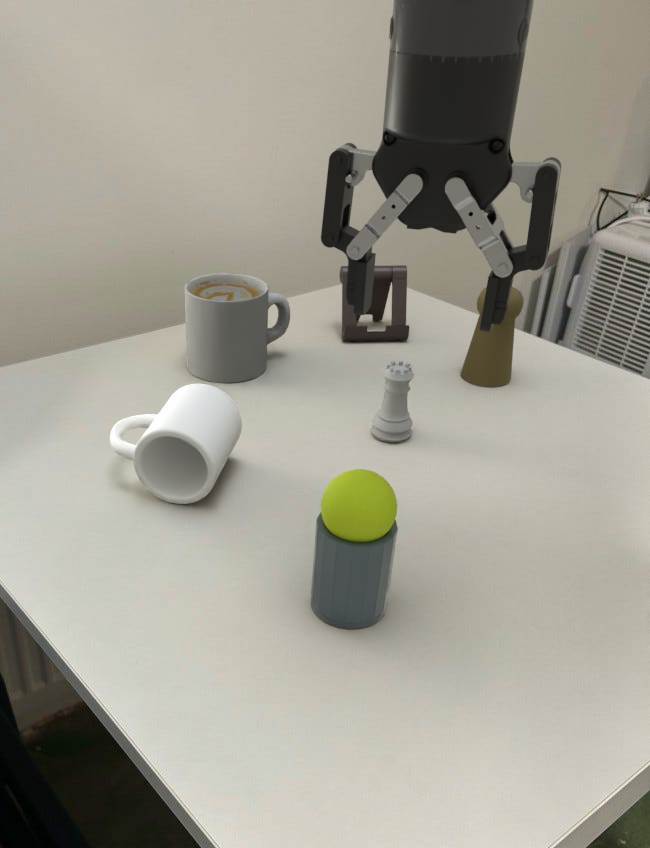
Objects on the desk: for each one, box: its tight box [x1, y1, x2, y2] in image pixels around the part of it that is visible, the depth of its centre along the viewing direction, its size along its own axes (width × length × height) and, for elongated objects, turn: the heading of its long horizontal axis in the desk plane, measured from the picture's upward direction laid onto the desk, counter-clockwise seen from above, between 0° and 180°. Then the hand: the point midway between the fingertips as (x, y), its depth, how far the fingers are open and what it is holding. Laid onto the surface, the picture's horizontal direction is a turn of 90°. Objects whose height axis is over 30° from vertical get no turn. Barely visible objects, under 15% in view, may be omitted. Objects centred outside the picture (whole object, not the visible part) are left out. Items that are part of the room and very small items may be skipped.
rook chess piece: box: [370, 359, 415, 444], centre depth 87 cm, size 4×4×8 cm
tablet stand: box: [339, 265, 410, 342], centre depth 110 cm, size 9×8×8 cm
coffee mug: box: [184, 272, 291, 384], centre depth 101 cm, size 13×10×10 cm
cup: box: [310, 511, 399, 630], centre depth 64 cm, size 6×6×8 cm
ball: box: [320, 468, 398, 542], centre depth 61 cm, size 6×6×6 cm
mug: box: [109, 382, 243, 505], centre depth 80 cm, size 12×10×8 cm
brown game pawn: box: [460, 286, 524, 388], centre depth 98 cm, size 6×6×11 cm
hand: (422, 319), depth 56 cm, fingers open, 8 cm apart
